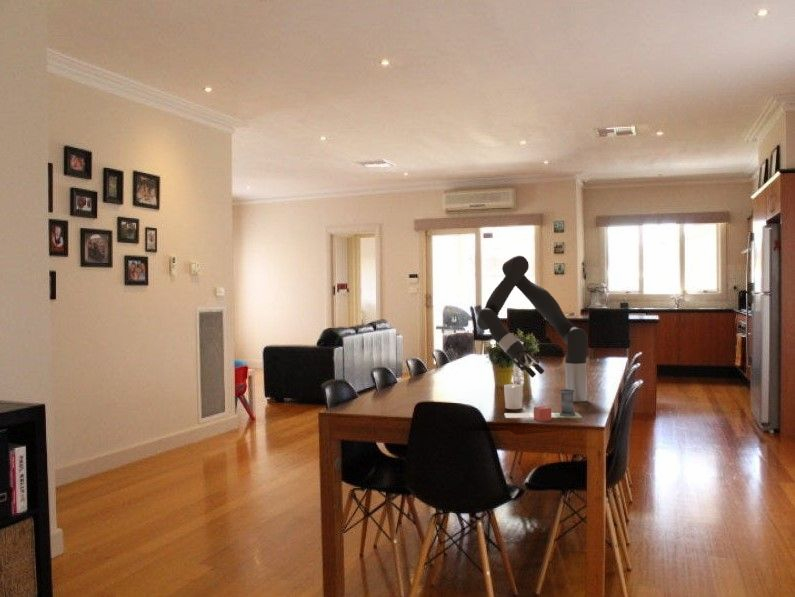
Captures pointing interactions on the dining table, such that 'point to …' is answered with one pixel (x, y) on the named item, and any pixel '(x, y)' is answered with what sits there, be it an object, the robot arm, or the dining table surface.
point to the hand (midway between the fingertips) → (538, 374)
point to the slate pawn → (567, 402)
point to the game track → (531, 415)
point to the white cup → (513, 396)
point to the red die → (542, 413)
